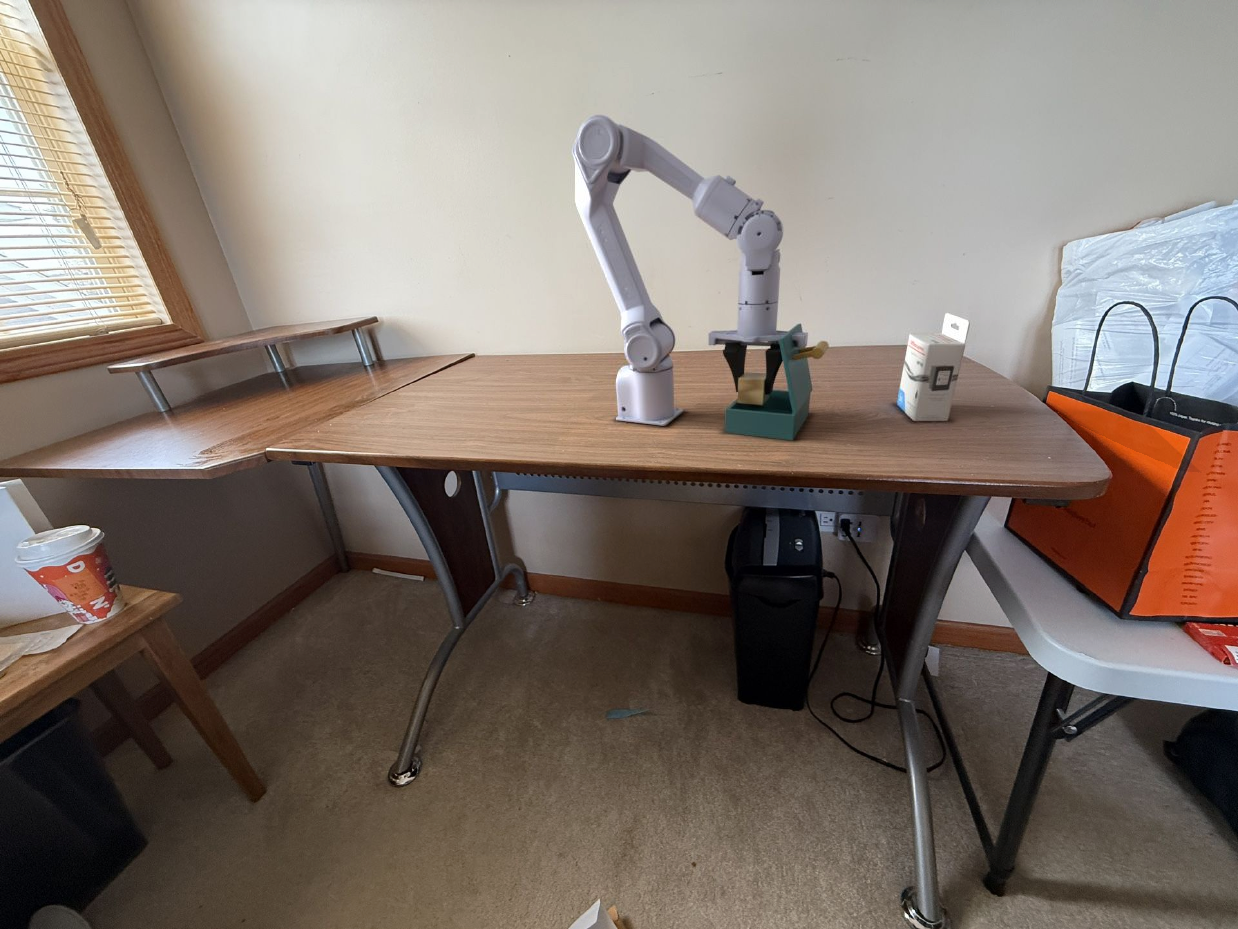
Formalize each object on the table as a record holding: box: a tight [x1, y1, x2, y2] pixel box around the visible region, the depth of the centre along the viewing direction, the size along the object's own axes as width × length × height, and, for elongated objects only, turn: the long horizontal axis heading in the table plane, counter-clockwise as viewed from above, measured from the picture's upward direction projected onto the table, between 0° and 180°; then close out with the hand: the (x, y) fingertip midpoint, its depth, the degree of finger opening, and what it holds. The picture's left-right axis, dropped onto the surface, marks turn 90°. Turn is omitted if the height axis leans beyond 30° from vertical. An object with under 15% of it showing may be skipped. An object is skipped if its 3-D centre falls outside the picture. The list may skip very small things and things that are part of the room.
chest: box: [724, 389, 812, 441], centre depth 76 cm, size 10×12×4 cm
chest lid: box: [779, 323, 830, 414], centre depth 70 cm, size 11×12×5 cm
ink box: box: [896, 312, 971, 422], centre depth 73 cm, size 9×5×15 cm, turn 168°
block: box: [737, 371, 769, 405], centre depth 76 cm, size 4×4×4 cm
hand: (753, 391), depth 76 cm, fingers closed on block, 4 cm apart
